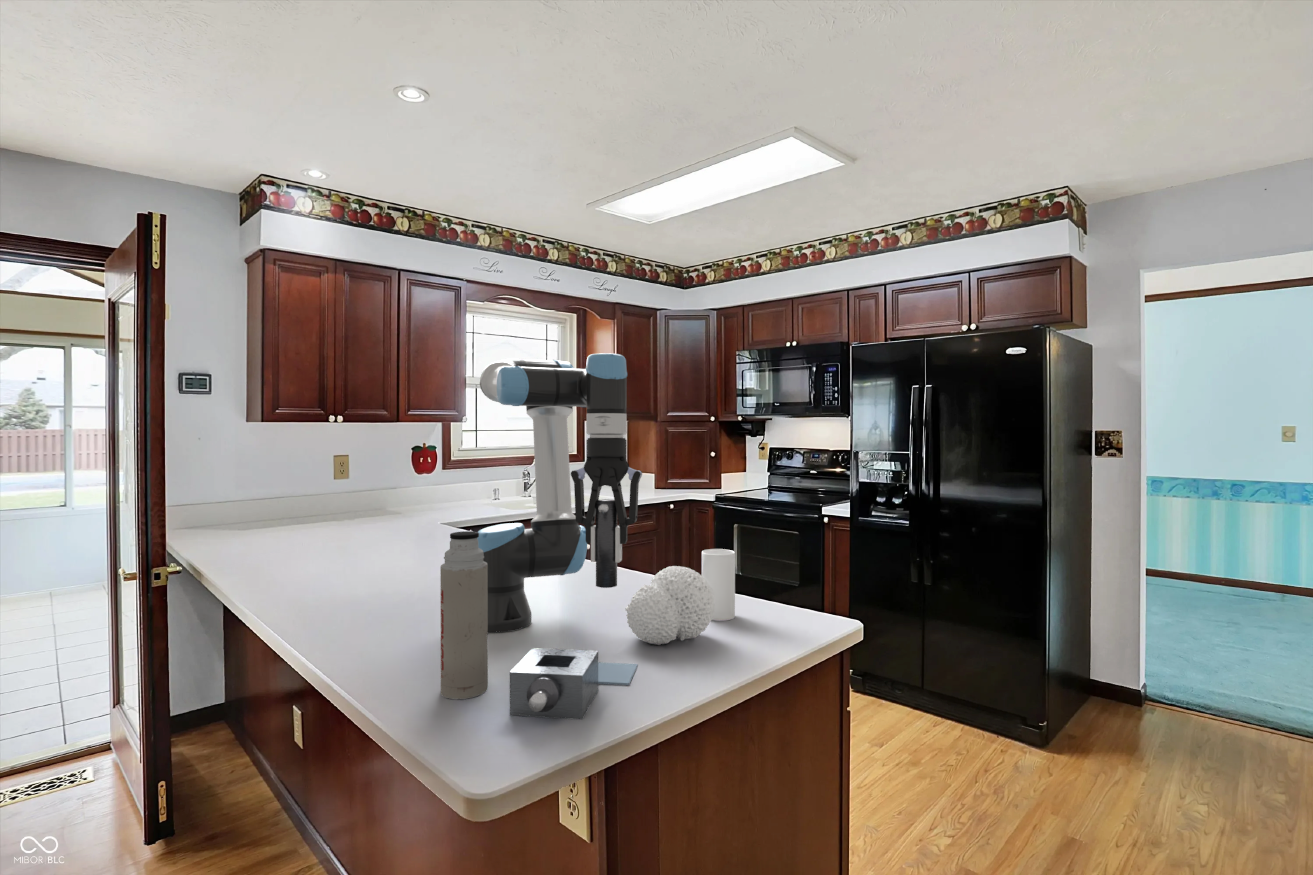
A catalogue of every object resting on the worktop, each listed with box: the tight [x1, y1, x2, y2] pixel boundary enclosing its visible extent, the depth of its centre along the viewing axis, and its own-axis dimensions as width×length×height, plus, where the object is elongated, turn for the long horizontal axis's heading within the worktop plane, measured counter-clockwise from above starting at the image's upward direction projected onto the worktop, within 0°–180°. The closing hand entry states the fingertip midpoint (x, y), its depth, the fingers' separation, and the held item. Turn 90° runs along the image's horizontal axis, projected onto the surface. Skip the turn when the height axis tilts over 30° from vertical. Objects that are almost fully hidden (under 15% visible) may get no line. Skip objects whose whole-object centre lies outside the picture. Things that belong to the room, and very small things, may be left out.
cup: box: [701, 548, 736, 622], centre depth 165 cm, size 8×8×16 cm
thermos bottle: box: [440, 530, 489, 700], centre depth 118 cm, size 8×8×28 cm
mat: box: [598, 661, 638, 686], centre depth 126 cm, size 10×10×1 cm
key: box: [595, 498, 618, 589], centre depth 126 cm, size 7×4×16 cm, turn 173°
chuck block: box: [509, 647, 599, 720], centre depth 110 cm, size 12×17×7 cm
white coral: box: [625, 565, 714, 646], centre depth 147 cm, size 20×18×16 cm
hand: (606, 560), depth 126 cm, fingers closed on key, 4 cm apart
